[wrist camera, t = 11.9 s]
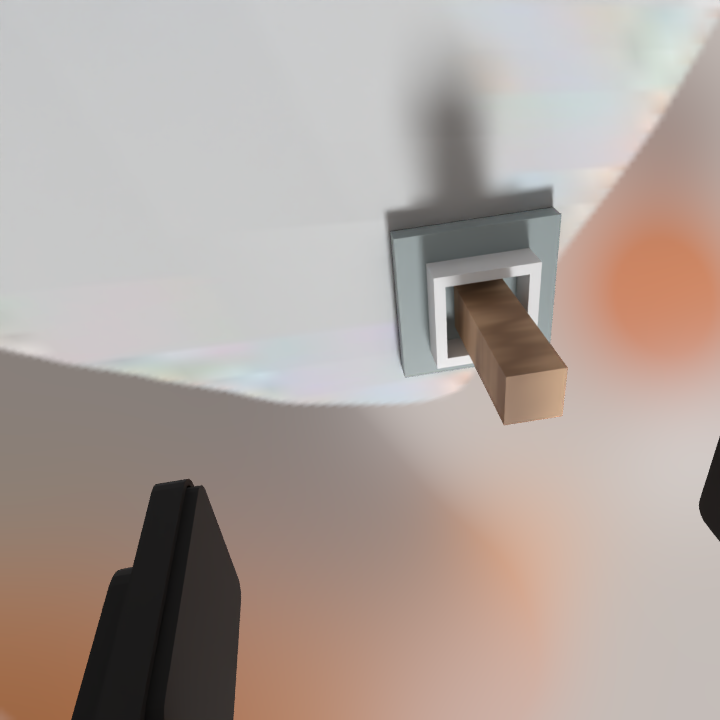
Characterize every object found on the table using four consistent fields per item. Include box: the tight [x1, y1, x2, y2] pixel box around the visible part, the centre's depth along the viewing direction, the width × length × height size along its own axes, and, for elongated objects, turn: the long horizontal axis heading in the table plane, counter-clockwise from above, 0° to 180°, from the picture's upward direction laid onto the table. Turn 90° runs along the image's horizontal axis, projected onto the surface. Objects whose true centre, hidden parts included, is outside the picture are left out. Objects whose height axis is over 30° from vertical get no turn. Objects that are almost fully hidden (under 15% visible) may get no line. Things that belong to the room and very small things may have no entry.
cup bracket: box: [390, 207, 561, 378], centre depth 44 cm, size 12×12×4 cm
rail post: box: [454, 279, 568, 425], centre depth 39 cm, size 4×4×12 cm
